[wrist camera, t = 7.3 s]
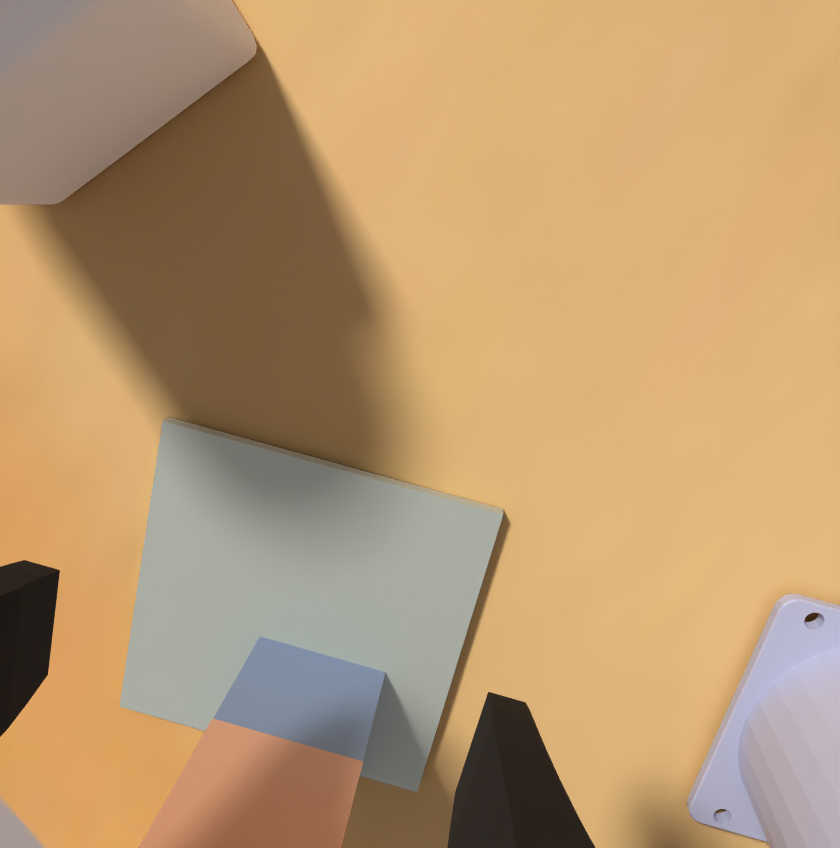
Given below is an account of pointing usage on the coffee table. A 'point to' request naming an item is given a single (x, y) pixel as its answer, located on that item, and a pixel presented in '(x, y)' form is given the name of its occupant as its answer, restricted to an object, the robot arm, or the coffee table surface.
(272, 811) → the salmon orange cube
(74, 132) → the medicine bottle
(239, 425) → the coffee table surface
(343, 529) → the plate
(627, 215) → the coffee table surface
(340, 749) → the blue brick
